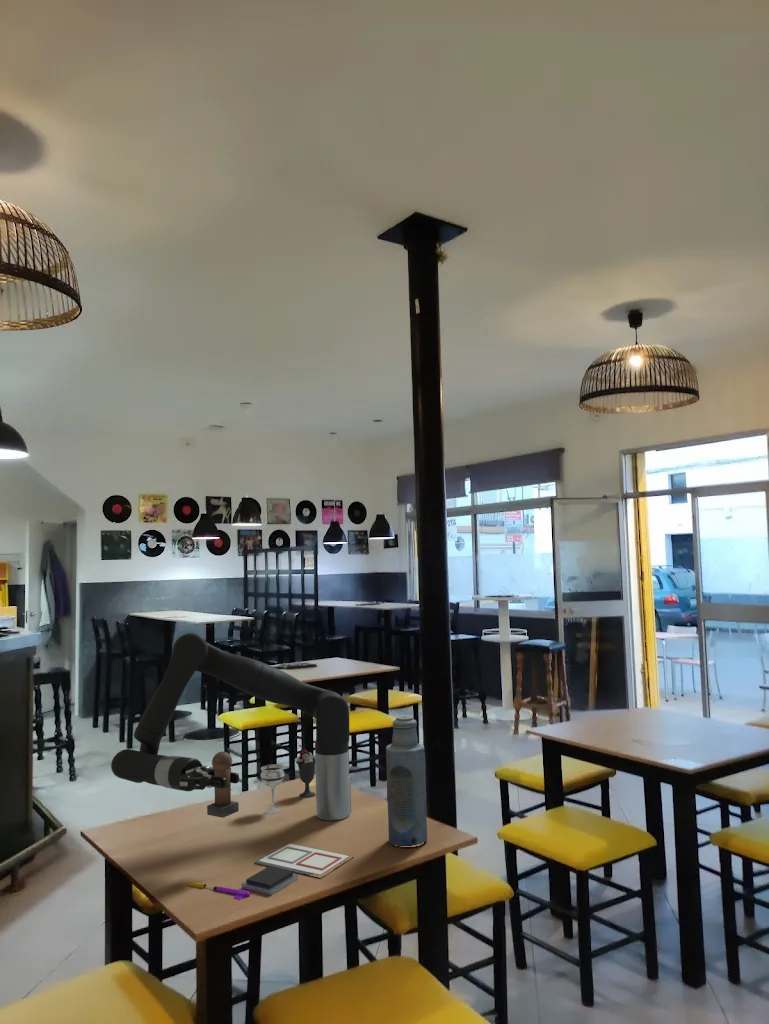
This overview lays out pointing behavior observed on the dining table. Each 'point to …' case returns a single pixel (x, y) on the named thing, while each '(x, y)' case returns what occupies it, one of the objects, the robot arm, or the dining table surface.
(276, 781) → the wineglass
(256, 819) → the dining table surface
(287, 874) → the ink pad
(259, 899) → the dining table surface
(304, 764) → the sundae
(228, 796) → the stamp
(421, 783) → the bottle
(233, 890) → the marker pen
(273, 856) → the print sheet
